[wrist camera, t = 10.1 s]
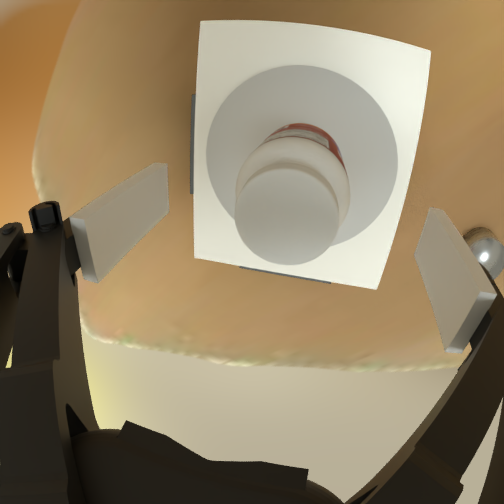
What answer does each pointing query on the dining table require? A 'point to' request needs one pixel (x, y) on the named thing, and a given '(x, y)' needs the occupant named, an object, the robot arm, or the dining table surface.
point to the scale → (311, 112)
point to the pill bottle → (292, 195)
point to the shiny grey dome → (486, 249)
